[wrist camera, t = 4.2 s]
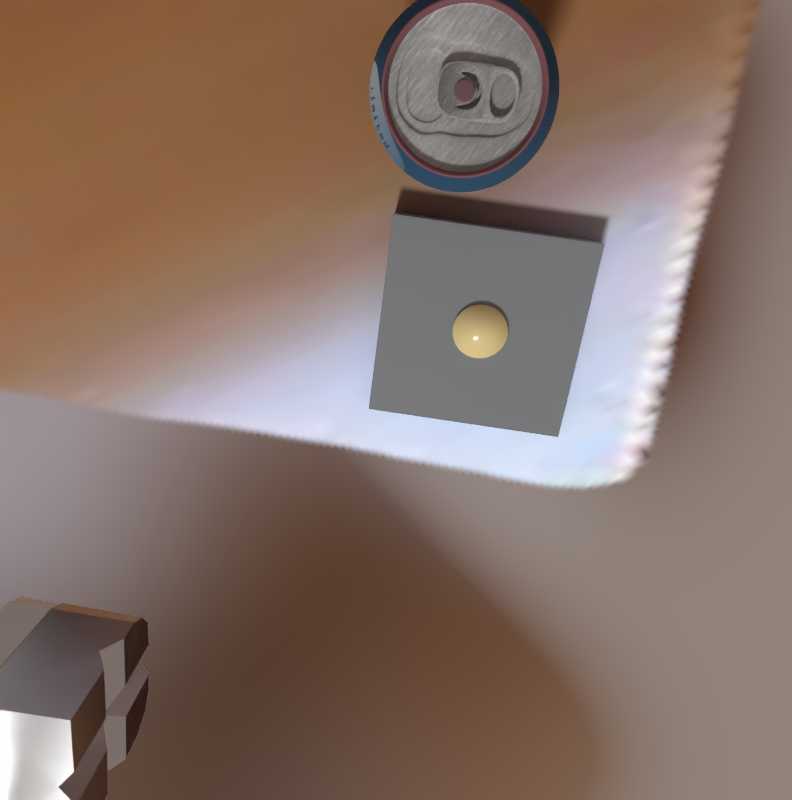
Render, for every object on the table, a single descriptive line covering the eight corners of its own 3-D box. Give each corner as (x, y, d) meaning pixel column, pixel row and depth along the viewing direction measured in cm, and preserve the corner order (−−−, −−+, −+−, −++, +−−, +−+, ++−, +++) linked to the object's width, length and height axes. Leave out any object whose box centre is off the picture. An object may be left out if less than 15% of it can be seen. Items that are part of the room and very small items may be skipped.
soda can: (382, 169, 36) (353, 182, 24) (399, 21, 33) (375, -41, 22) (513, 187, 35) (545, 208, 24) (540, 39, 33) (589, -14, 22)
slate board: (395, 211, 36) (393, 214, 35) (599, 241, 36) (605, 244, 35) (371, 401, 40) (368, 409, 39) (554, 428, 40) (558, 438, 39)
